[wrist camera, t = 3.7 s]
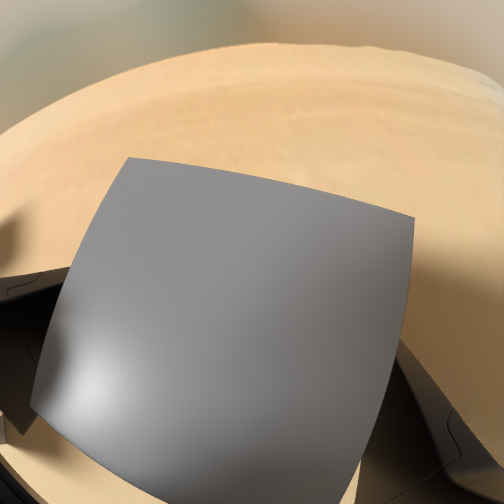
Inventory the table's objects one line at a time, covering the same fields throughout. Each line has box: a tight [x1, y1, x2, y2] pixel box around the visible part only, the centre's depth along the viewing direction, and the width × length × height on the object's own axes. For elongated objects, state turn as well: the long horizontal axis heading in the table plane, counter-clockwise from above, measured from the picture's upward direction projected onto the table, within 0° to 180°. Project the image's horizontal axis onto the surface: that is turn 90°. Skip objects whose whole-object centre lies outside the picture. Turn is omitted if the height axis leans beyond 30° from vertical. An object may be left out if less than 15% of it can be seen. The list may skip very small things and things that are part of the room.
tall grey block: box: [30, 157, 415, 504], centre depth 9 cm, size 6×6×11 cm
